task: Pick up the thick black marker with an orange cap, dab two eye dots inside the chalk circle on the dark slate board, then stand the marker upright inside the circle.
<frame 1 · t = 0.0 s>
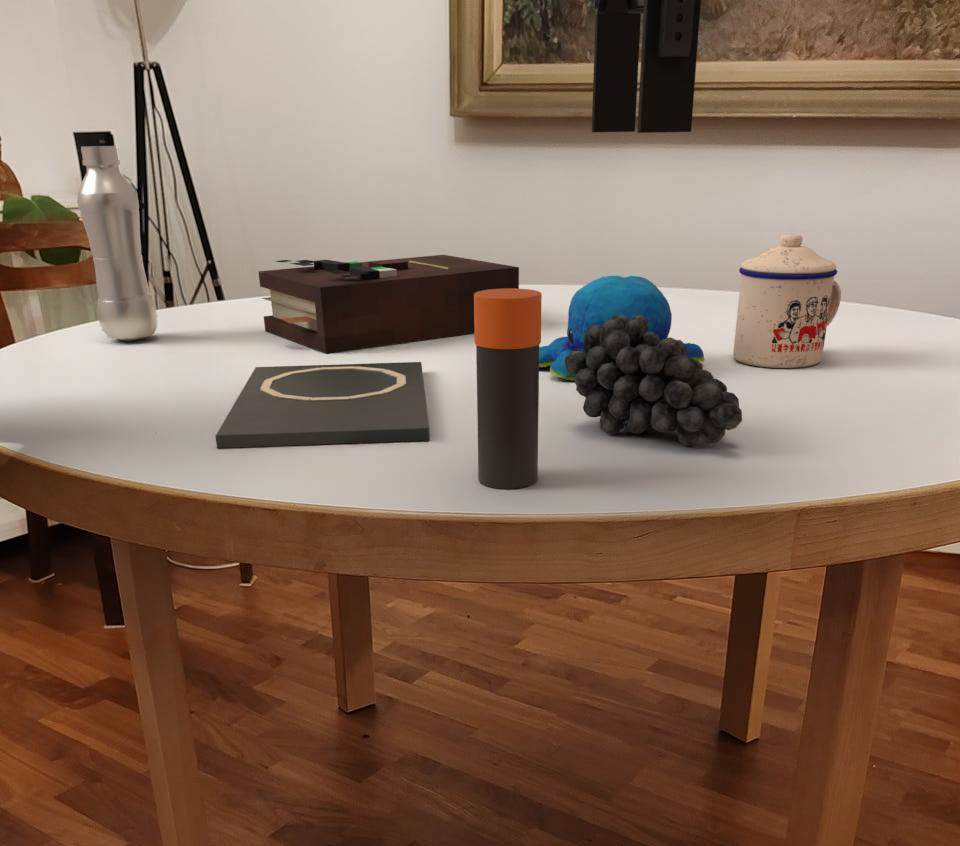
hand: (635, 133, 58), 21 cm above the table, tool pointing down, fingers open, 13 cm apart
plush toy: (613, 368, 97), on the table
slate board: (332, 405, 85), on the table
teacup with lid: (787, 360, 99), on the table
decorative book: (391, 330, 117), on the table
metal water bottle: (132, 341, 114), on the table
fruit: (651, 438, 75), on the table
marker: (507, 479, 66), on the table
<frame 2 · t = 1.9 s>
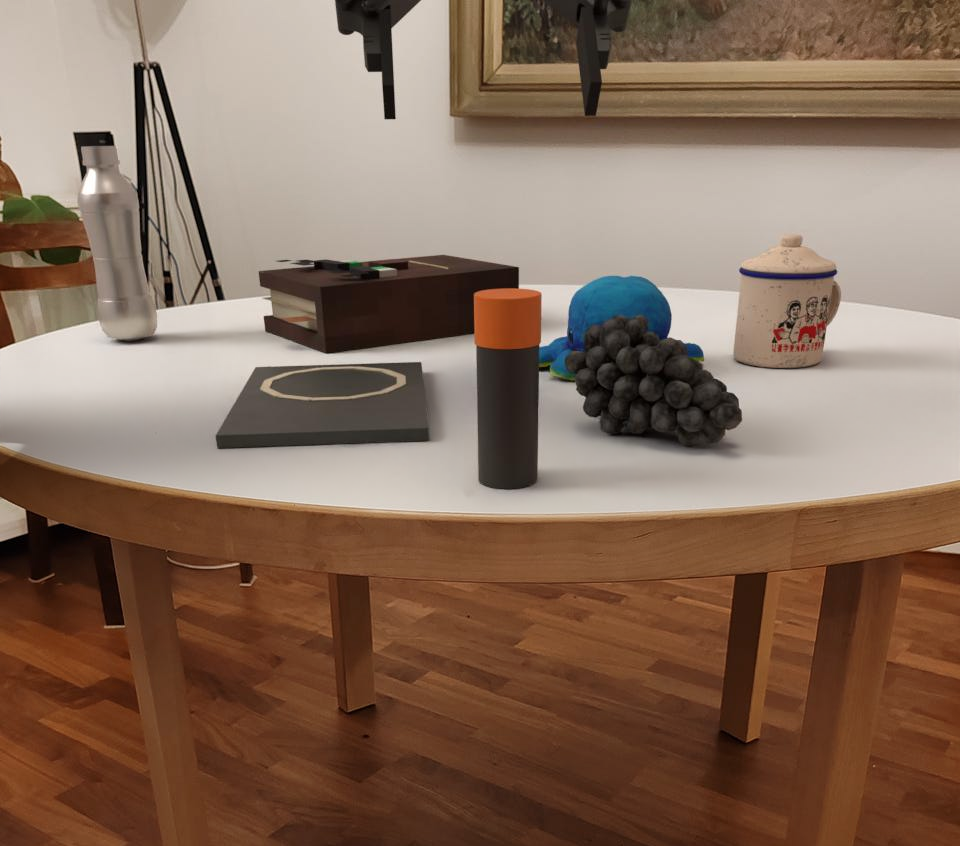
hand: (491, 101, 65), 23 cm above the table, tool tilted 45°, fingers open, 13 cm apart
nothing on the table moved.
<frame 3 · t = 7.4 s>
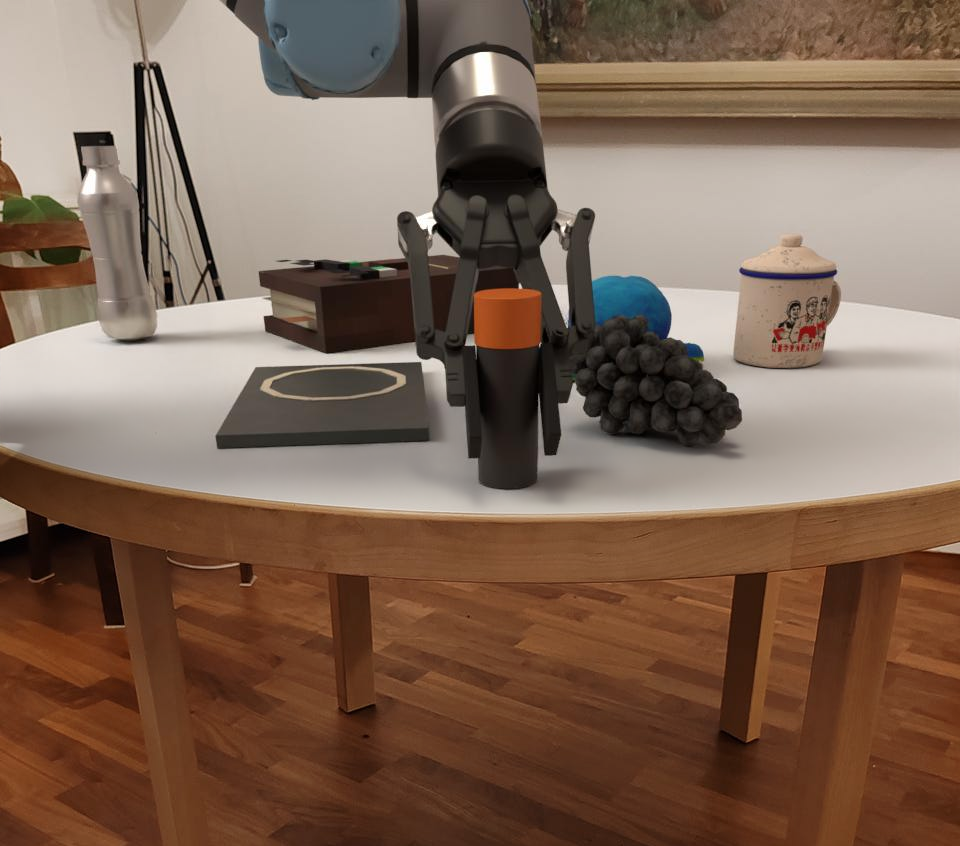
hand: (514, 445, 61), 3 cm above the table, tool tilted 45°, fingers closed on marker, 4 cm apart
marker: (507, 479, 66), on the table, touching gripper
everything else where it was.
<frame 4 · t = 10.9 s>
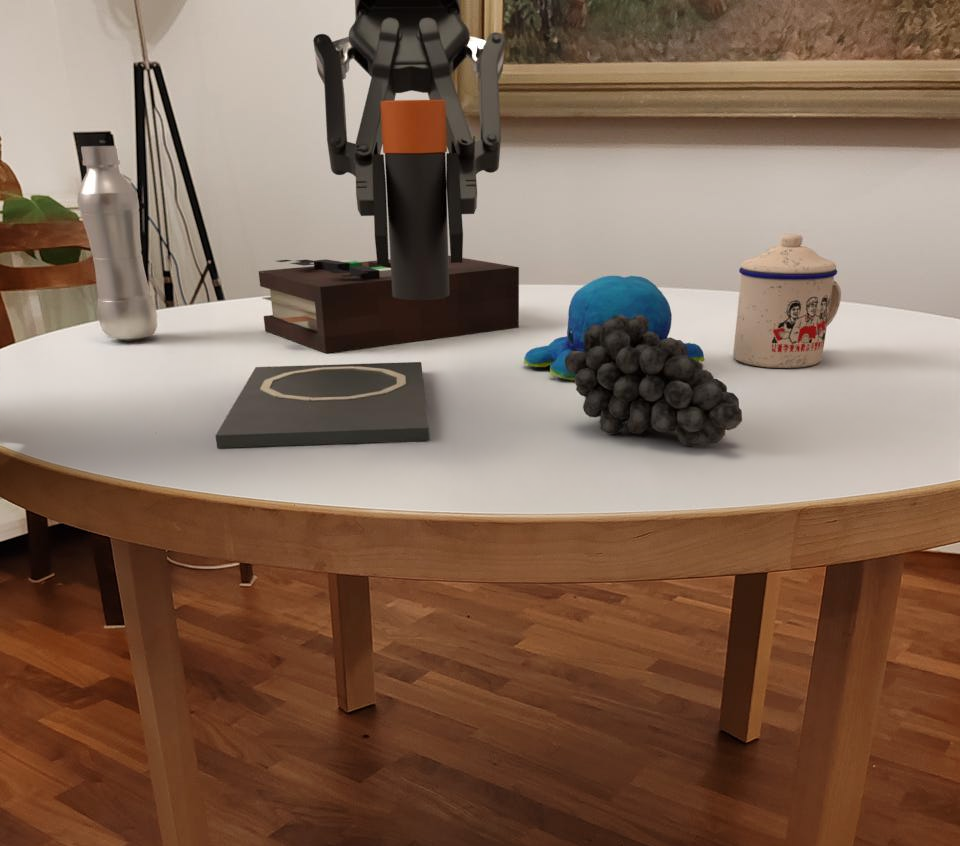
hand: (419, 249, 64), 14 cm above the table, tool tilted 45°, fingers closed on marker, 4 cm apart
marker: (421, 295, 69), point 11 cm above the table, touching gripper
everything else where it was.
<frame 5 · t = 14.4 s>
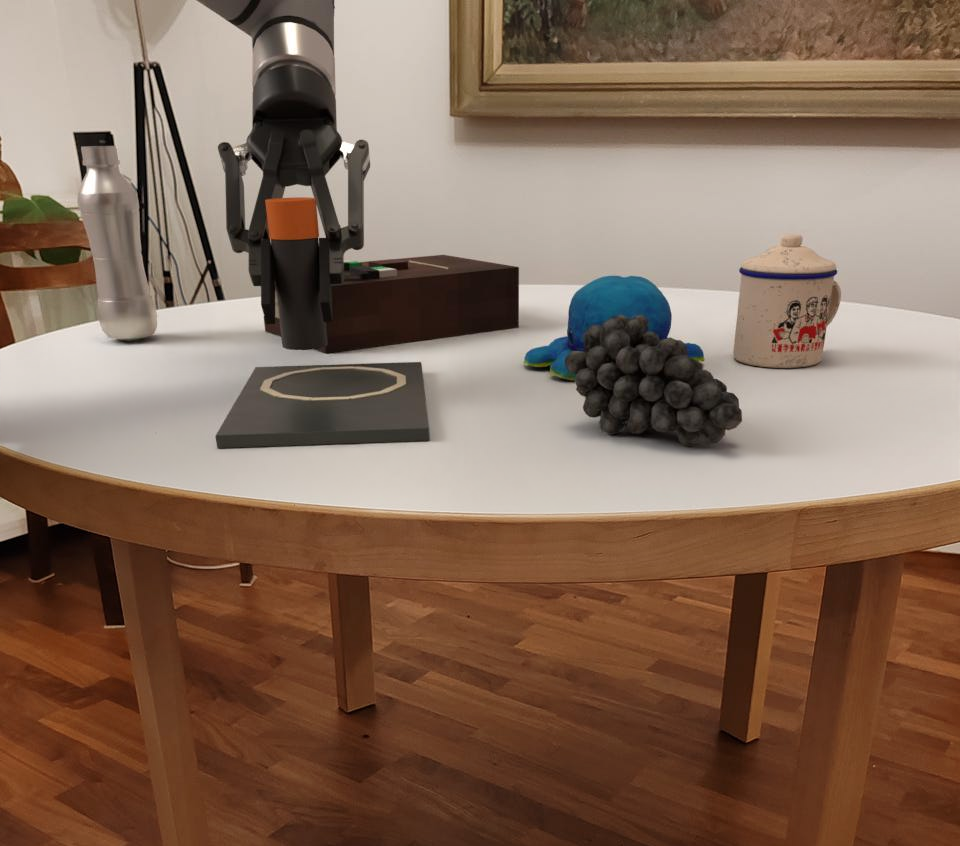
hand: (297, 312, 83), 7 cm above the table, tool tilted 45°, fingers closed on marker, 4 cm apart
marker: (305, 345, 88), point 4 cm above the table, touching gripper
everything else where it was.
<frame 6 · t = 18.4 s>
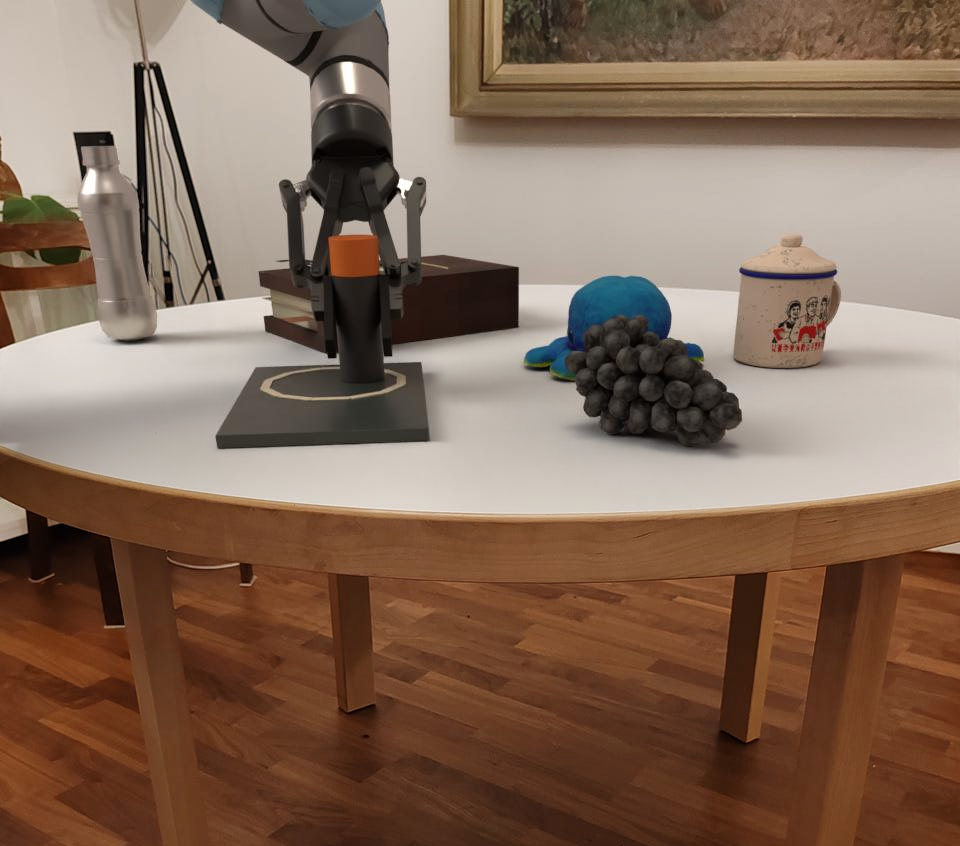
hand: (359, 348, 85), 4 cm above the table, tool tilted 45°, fingers closed on marker, 4 cm apart
marker: (362, 378, 90), point 1 cm above the table, touching gripper, slate board
everything else where it was.
when the fingers open (4 cm above the table, at t = 21.6 s): marker stays where it is, resting on slate board.
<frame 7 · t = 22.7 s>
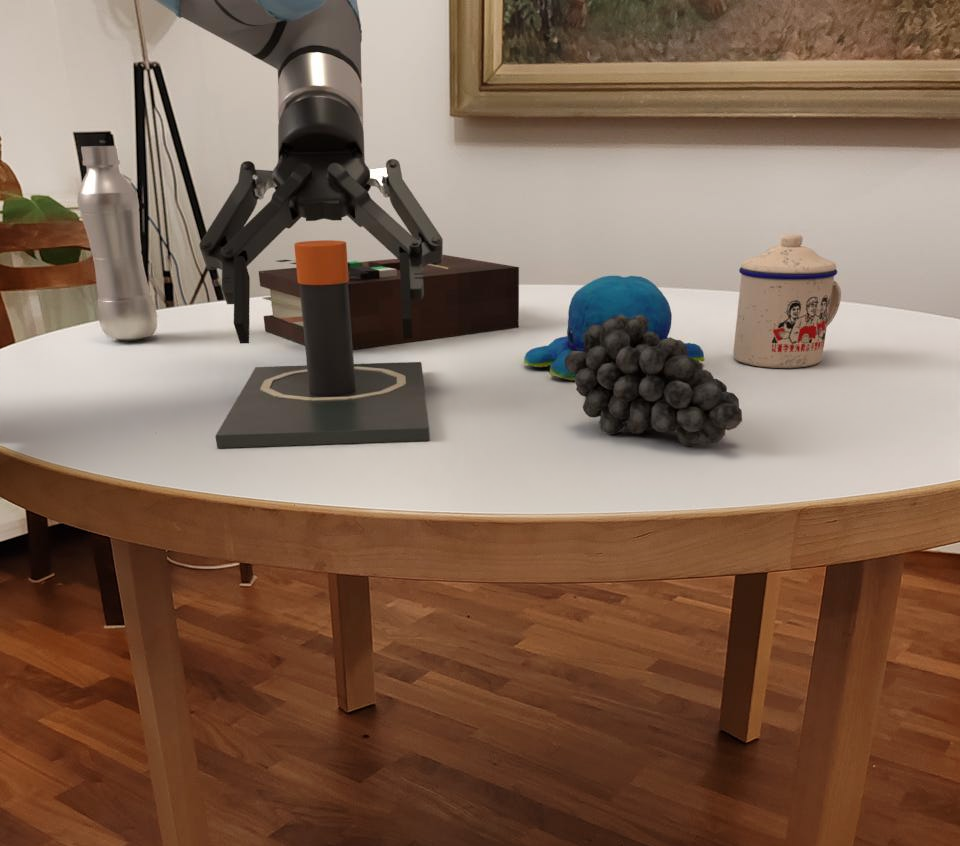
hand: (324, 331, 81), 6 cm above the table, tool tilted 45°, fingers open, 13 cm apart
marker: (332, 390, 85), point 1 cm above the table, touching slate board
everything else where it was.
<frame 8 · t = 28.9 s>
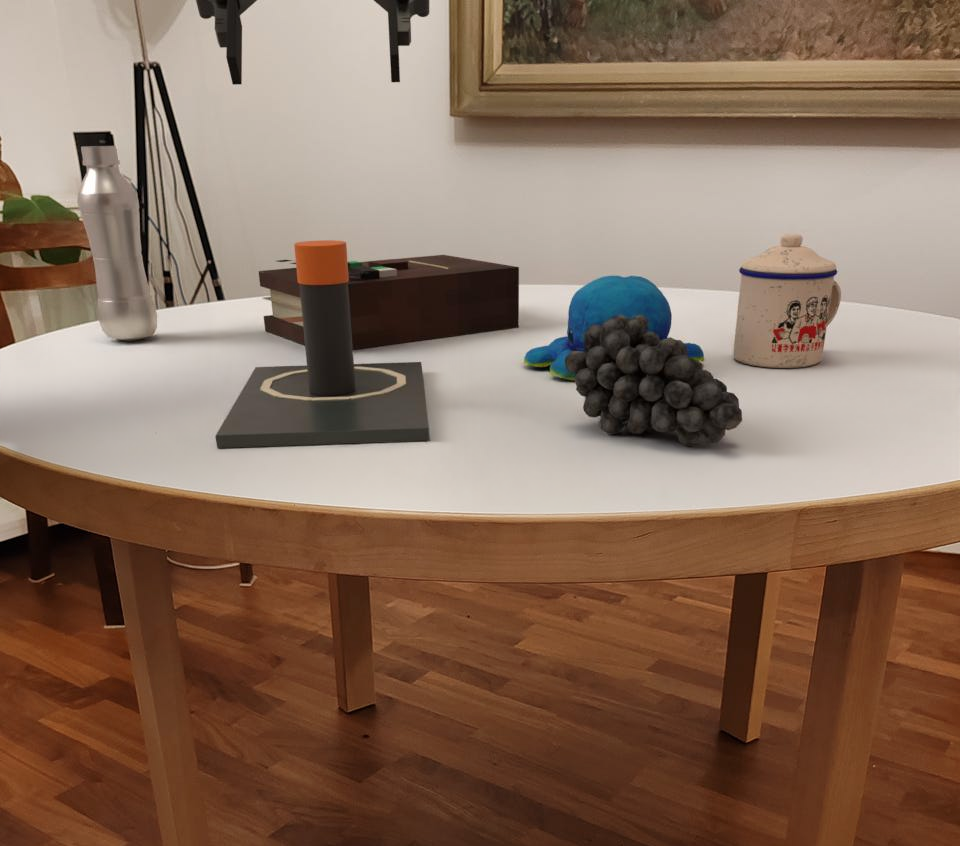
hand: (314, 70, 83), 26 cm above the table, tool tilted 45°, fingers open, 13 cm apart
nothing on the table moved.
at the end: marker inside the target area on the slate board (0.1 cm from its centre), point 1.0 cm above the slate board's base; marker tilted 0°; the gripper is holding nothing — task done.
